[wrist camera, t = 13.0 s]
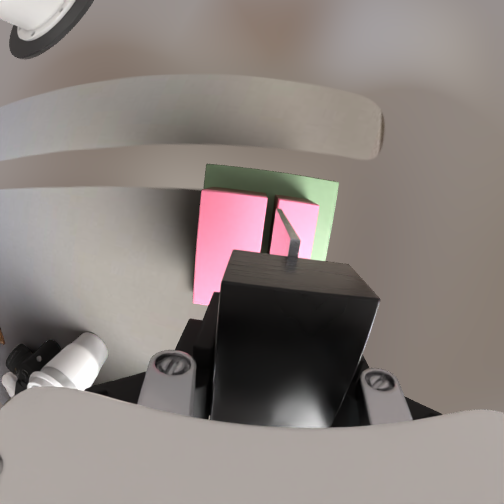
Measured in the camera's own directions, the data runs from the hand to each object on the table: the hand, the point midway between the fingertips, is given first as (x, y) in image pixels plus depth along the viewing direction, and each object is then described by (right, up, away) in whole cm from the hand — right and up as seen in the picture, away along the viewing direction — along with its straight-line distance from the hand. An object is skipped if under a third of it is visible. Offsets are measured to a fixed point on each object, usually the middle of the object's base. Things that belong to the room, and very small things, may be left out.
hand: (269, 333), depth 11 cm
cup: (-22, -9, +21) cm, 31 cm away
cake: (-2, +4, +15) cm, 16 cm away
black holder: (0, +1, +5) cm, 5 cm away
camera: (-34, -13, +22) cm, 43 cm away
